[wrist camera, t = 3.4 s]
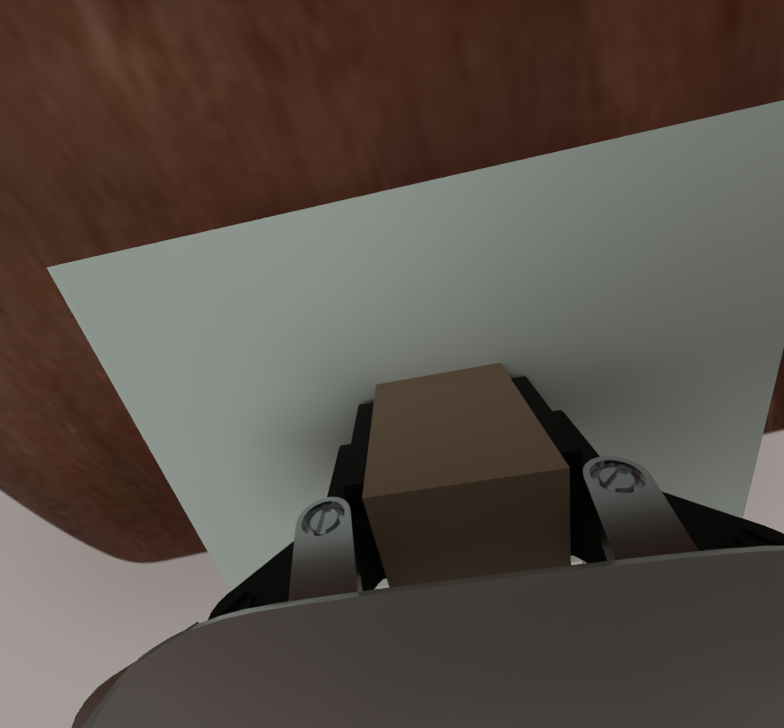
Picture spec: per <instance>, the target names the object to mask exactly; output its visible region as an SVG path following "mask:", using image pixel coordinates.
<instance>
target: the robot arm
mask: <svg viewBox="0 0 784 728" xmlns="http://www.w3.org/2000/svg"><path fill="white" fill-rule="evenodd" d="M511 380H512V381H513V383H514V384H515V386H516V388H517V389H518V391H519V392H520V394H521V395H522V397H523V398H524V400H525V401H526V403H527V404H528V406H529V407H530V409H531V410H532V412H533V413H534V415H535V416H536V418H537V419H538V421H539V422H540V424H541V425H542V427H543V428H544V430H545V431H546V433H547V434H548V436H549V437H550V439H551V440H552V442H553V443H554V445H555V446H556V448H557V449H558V451H559V452H560V454H561V455H562V457H563V458H564V460H565V461H566V463H567V464H568V466H569V467H570V542H571V556H575V557H577V558H579V559H581V560H582V563H583V564H578V565H570V566H561V567H553V568H544V569H536V570H528V571H520V572H512V573H503V574H495V575H487V576H479V577H471V578H463V579H455V580H446V581H438V582H430V583H422V584H415V585H407V586H399V587H391V588H384V589H376V586H377V585H378V584H379V583H380V582H381V581H382V580H383V579H387V578H386V575H385V571H384V568H383V565H382V561H381V558H380V555H379V552H378V548H377V545H376V542H375V539H374V535H373V532H372V529H371V526H370V522H369V519H368V516H367V513H366V509H365V506H364V503H363V499H362V495H363V487H364V479H365V471H366V463H367V455H368V446H369V438H370V430H371V422H372V414H373V406H374V402H371V403H365V404H359V405H358V410H357V415H356V420H355V425H354V430H353V435H352V440H351V444H346V445H341V446H340V447H339V450H338V454H337V458H336V462H335V466H334V470H333V475H332V479H331V483H330V487H329V491H328V495H327V498H323V499H320V500H318V501H315V502H314V503H312V504H311V505H309V506H308V507H307V508H306V509H305V510H304V511H303V512H302V513H301V514H300V516H299V517H298V519H297V523H296V528H295V538H294V541H293V542H292V543H290V544H289V545H288V546H287V547H285V548H284V549H283V550H282V551H280V552H279V553H278V554H277V555H275V556H274V557H273V558H272V559H270V560H269V561H268V562H267V563H265V564H264V565H263V566H262V567H260V568H259V569H258V570H257V571H256V572H254V573H253V574H252V575H251V576H249V577H248V578H247V579H246V580H244V581H243V582H242V583H241V584H239V585H238V586H237V587H236V588H234V589H233V590H232V591H231V592H229V593H228V594H227V595H226V596H225V597H224V598H223V599H222V600H221V601H220V602H219V603H218V604H217V605H216V607H215V608H214V609H213V611H212V612H211V614H210V617H209V619H208V620H207V621H205V622H202V623H200V624H199V623H198V622H197V623H195V624H194V625H192V626H190V627H189V628H187V629H186V630H184V631H183V632H180V633H178V634H176V635H174V636H172V637H170V638H168V639H167V640H165V641H163V642H162V643H160V644H159V645H157V646H155V647H154V648H152V649H151V650H150V651H148V652H147V653H145V654H144V655H143V656H141V657H140V658H139V659H138V660H137V661H136V662H134V663H133V664H131V665H129V666H128V667H126V668H124V669H123V670H121V671H120V672H118V673H117V674H115V675H113V676H112V677H111V678H109V679H108V680H107V681H105V682H104V683H103V684H101V685H100V686H99V687H98V688H97V689H96V690H95V691H94V692H93V693H92V694H91V696H89V698H88V699H87V700H86V701H85V702H84V704H83V706H82V707H81V709H80V710H79V712H78V713H77V715H76V717H75V720H74V723H73V725H72V728H784V534H783V533H781V532H778V531H776V530H774V529H771V528H769V527H766V526H764V525H761V524H758V523H754V522H752V521H749V520H746V519H743V518H740V517H737V516H734V515H731V514H728V513H725V512H722V511H719V510H716V509H713V508H710V507H707V506H704V505H701V504H698V503H695V502H692V501H689V500H686V499H683V498H680V497H677V496H674V495H671V494H668V493H665V492H662V491H661V490H660V488H659V487H658V485H657V483H656V482H655V480H654V479H653V477H652V475H651V474H650V473H649V472H648V471H647V470H646V469H645V468H644V467H642V466H641V465H639V464H638V463H636V462H633V461H631V460H629V459H625V458H621V457H615V456H603V457H600V456H599V454H598V453H597V452H596V451H595V450H594V448H593V447H592V446H591V445H590V443H589V442H588V441H587V440H586V439H585V437H584V436H583V435H582V434H581V432H580V431H579V430H578V429H577V427H576V426H575V425H574V424H573V423H572V421H571V420H570V419H569V418H568V416H567V415H566V414H565V413H564V412H563V411H562V410H555V411H552V410H551V408H550V407H549V406H548V404H547V403H546V402H545V401H544V399H543V398H542V397H541V395H540V394H539V393H538V391H537V390H536V389H535V387H534V386H533V385H532V383H531V382H530V381H529V380H528V378H527V377H526V376H522V377H516V378H511Z"/></svg>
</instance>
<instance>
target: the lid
mask: <svg viewBox="0 0 784 728" xmlns="http://www.w3.org/2000/svg"><path fill="white" fill-rule="evenodd" d="M47 269H48V271H49V273H50V274H51V276H52V278H53V280H54V281H55V283H56V285H57V287H58V288H59V290H60V292H61V294H62V295H63V297H64V299H65V301H66V303H67V304H68V306H69V308H70V310H71V311H72V313H73V315H74V317H75V318H76V320H77V322H78V324H79V325H80V327H81V329H82V331H83V332H84V334H85V336H86V338H87V340H88V341H89V343H90V345H91V347H92V348H93V350H94V352H95V354H96V355H97V357H98V359H99V361H100V362H101V364H102V366H103V368H104V369H105V371H106V373H107V375H108V376H109V378H110V380H111V382H112V384H113V385H114V387H115V389H116V391H117V392H118V394H119V396H120V398H121V399H122V401H123V403H124V405H125V406H126V408H127V410H128V412H129V413H130V415H131V417H132V419H133V421H134V422H135V424H136V426H137V428H138V429H139V431H140V433H141V435H142V436H143V438H144V440H145V442H146V443H147V445H148V447H149V449H150V450H151V452H152V454H153V456H154V457H155V459H156V461H157V463H158V465H159V466H160V468H161V470H162V472H163V473H164V475H165V477H166V479H167V480H168V482H169V484H170V486H171V487H172V489H173V491H174V493H175V494H176V496H177V498H178V500H179V502H180V503H181V505H182V507H183V509H184V510H185V512H186V514H187V516H188V517H189V519H190V521H191V523H192V524H193V526H194V528H195V530H196V531H197V533H198V535H199V537H200V538H201V540H202V542H203V544H204V546H205V547H206V549H207V551H208V553H209V554H210V556H211V558H212V559H213V561H214V563H215V565H216V567H217V568H218V570H219V572H220V574H221V575H222V577H223V579H224V581H225V582H226V584H227V586H228V588H229V589H230V591H232V590H233V589H234V588H236V587H237V586H238V585H239V584H241V583H242V582H243V581H244V580H246V579H247V578H248V577H249V576H251V575H252V574H253V573H254V572H256V571H257V570H258V569H259V568H260V567H262V566H263V565H264V564H265V563H267V562H268V561H269V560H270V559H272V558H273V557H274V556H275V555H277V554H278V553H279V552H280V551H282V550H283V549H284V548H285V547H287V546H288V545H289V544H290V543H292V542H293V541H294V538H295V528H296V523H297V519H298V517H299V516H300V514H301V513H302V512H303V511H304V510H305V509H306V508H307V507H308V506H309V505H311V504H312V503H314V502H315V501H318V500H320V499H323V498H327V495H328V491H329V487H330V483H331V479H332V475H333V470H334V466H335V462H336V458H337V454H338V450H339V447H340V446H341V445H346V444H351V440H352V435H353V430H354V425H355V420H356V415H357V410H358V405H359V404H365V403H371V402H374V406H373V414H372V422H371V430H370V438H369V446H368V455H367V463H366V471H365V479H364V487H363V495H362V499H363V503H364V506H365V509H366V513H367V516H368V519H369V522H370V526H371V529H372V532H373V535H374V539H375V542H376V545H377V548H378V552H379V555H380V558H381V561H382V565H383V568H384V571H385V575H386V578H387V579H383V580H382V581H381V582H380V583H379V584H378V585H377V586H380V585H388V584H389V588H391V587H399V586H407V585H415V584H422V583H430V582H438V581H446V580H455V579H463V578H471V577H479V576H487V575H495V574H503V573H512V572H520V571H528V570H536V569H544V568H553V567H561V566H570V565H571V562H574V561H582V560H581V559H579V558H577V557H575V556H571V542H570V467H569V466H568V464H567V463H566V461H565V460H564V458H563V457H562V455H561V454H560V452H559V451H558V449H557V448H556V446H555V445H554V443H553V442H552V440H551V439H550V437H549V436H548V434H547V433H546V431H545V430H544V428H543V427H542V425H541V424H540V422H539V421H538V419H537V418H536V416H535V415H534V413H533V412H532V410H531V409H530V407H529V406H528V404H527V403H526V401H525V400H524V398H523V397H522V395H521V394H520V392H519V391H518V389H517V388H516V386H515V384H514V383H513V381H512V380H511V378H516V377H522V376H526V377H527V378H528V380H529V381H530V382H531V383H532V385H533V386H534V387H535V389H536V390H537V391H538V393H539V394H540V395H541V397H542V398H543V399H544V401H545V402H546V403H547V404H548V406H549V407H550V408H551V410H552V411H555V410H562V411H563V412H564V413H565V414H566V415H567V416H568V418H569V419H570V420H571V421H572V423H573V424H574V425H575V426H576V427H577V429H578V430H579V431H580V432H581V434H582V435H583V436H584V437H585V439H586V440H587V441H588V442H589V443H590V445H591V446H592V447H593V448H594V450H595V451H596V452H597V453H598V454H599V456H600V457H603V456H615V457H621V458H625V459H629V460H631V461H633V462H636V463H638V464H639V465H641V466H642V467H644V468H645V469H646V470H647V471H648V472H649V473H650V474H651V475H652V477H653V479H654V480H655V482H656V483H657V485H658V487H659V488H660V490H661V491H662V492H665V493H668V494H671V495H674V496H677V497H680V498H683V499H686V500H689V501H692V502H695V503H698V504H701V505H704V506H707V507H710V508H713V509H716V510H719V511H722V512H725V513H728V514H731V515H734V516H737V517H740V518H743V515H744V510H745V506H746V502H747V498H748V494H749V489H750V485H751V481H752V477H753V473H754V468H755V464H756V460H757V456H758V452H759V448H760V444H761V439H762V435H763V431H764V427H765V423H766V419H767V415H768V410H769V406H770V402H771V398H772V394H773V390H774V385H775V381H776V377H777V373H778V369H779V365H780V360H781V356H782V352H783V348H784V100H783V101H778V102H774V103H770V104H765V105H761V106H756V107H752V108H748V109H743V110H739V111H734V112H730V113H726V114H721V115H717V116H712V117H708V118H704V119H699V120H695V121H690V122H686V123H682V124H677V125H673V126H668V127H664V128H659V129H655V130H651V131H646V132H642V133H637V134H633V135H629V136H624V137H620V138H615V139H611V140H607V141H602V142H598V143H593V144H589V145H585V146H580V147H576V148H571V149H567V150H563V151H558V152H554V153H549V154H545V155H541V156H536V157H532V158H527V159H523V160H519V161H514V162H510V163H505V164H501V165H497V166H492V167H488V168H483V169H479V170H475V171H470V172H466V173H461V174H457V175H452V176H448V177H444V178H439V179H435V180H430V181H426V182H422V183H417V184H413V185H408V186H404V187H400V188H395V189H391V190H386V191H382V192H378V193H373V194H369V195H364V196H360V197H356V198H351V199H347V200H342V201H338V202H334V203H329V204H325V205H320V206H316V207H312V208H307V209H303V210H298V211H294V212H290V213H285V214H281V215H276V216H272V217H267V218H263V219H259V220H254V221H250V222H245V223H241V224H237V225H232V226H228V227H223V228H219V229H215V230H210V231H206V232H201V233H197V234H193V235H188V236H184V237H179V238H175V239H171V240H166V241H162V242H157V243H153V244H149V245H144V246H140V247H135V248H131V249H127V250H122V251H118V252H113V253H109V254H105V255H100V256H96V257H91V258H87V259H83V260H78V261H74V262H69V263H65V264H60V265H56V266H52V267H47Z"/></svg>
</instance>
